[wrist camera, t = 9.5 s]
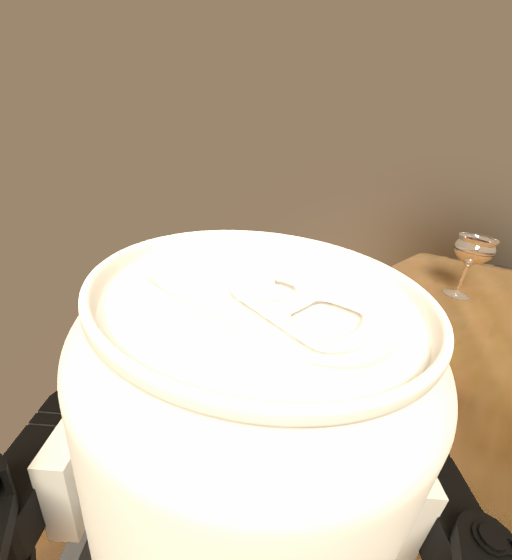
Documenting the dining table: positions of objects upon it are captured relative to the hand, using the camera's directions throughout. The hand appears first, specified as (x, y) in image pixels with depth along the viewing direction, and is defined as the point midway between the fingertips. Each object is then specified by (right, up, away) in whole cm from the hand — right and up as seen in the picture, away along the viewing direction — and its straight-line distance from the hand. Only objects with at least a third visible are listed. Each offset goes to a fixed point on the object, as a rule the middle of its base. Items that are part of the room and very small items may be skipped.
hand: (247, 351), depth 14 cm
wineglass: (+41, 0, +52) cm, 66 cm away
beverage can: (-1, -8, -1) cm, 8 cm away
